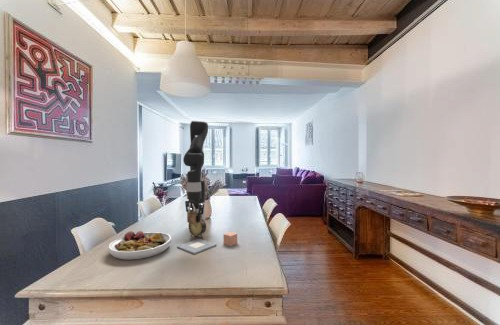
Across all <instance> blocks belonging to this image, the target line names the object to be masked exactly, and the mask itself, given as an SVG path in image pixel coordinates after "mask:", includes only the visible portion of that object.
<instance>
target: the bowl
mask: <svg viewBox="0 0 500 325" xmlns="http://www.w3.org/2000/svg"><path fill="white" fill-rule="evenodd" d="M171 242H172V236H171V235H170V234H168V233H165V232H157V231H156V232H155V231H153V232H152V231H151V232H143V231H141V230H139V231H137V232H136V233H135V232H134V231H128V232H125V234H124V236H122V237H120V238H117V239H115V240H113V241H112V242H110V243H109V244H108V251H109V254H110V255H111V256H113V257H114V258H116V259H119V260H127V261H129V260H130V261H131V260H132V261H133V260H141V259H147V258H151V257H153V256H157V255H159V254H160V253H163V252H165V250H167V249H168V248H169V246H170V244H171Z"/></svg>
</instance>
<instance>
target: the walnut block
mask: <svg viewBox="0 0 500 325" xmlns="http://www.w3.org/2000/svg"><path fill="white" fill-rule="evenodd" d="M197 212H198V211H197ZM186 214H187V215H186V220H187V222H186V223H188V224H189V223H191V224H197V222H196V213H195V211H191V212H186ZM200 222H202V215H200ZM200 222H198V223H200Z"/></svg>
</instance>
